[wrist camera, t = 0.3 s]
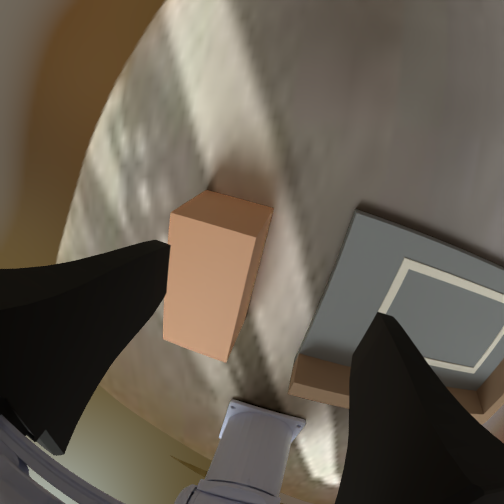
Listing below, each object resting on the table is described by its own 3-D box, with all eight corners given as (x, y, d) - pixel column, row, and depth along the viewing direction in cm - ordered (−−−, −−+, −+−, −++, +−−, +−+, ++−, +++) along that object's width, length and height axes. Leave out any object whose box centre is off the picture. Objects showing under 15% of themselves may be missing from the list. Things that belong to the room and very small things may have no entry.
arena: (474, 395, 21) (483, 424, 17) (294, 358, 23) (287, 393, 20) (550, 290, 15) (570, 315, 11) (355, 208, 17) (361, 231, 14)
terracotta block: (245, 317, 23) (226, 362, 18) (191, 299, 23) (162, 338, 19) (274, 207, 18) (256, 237, 14) (207, 189, 19) (170, 212, 15)
